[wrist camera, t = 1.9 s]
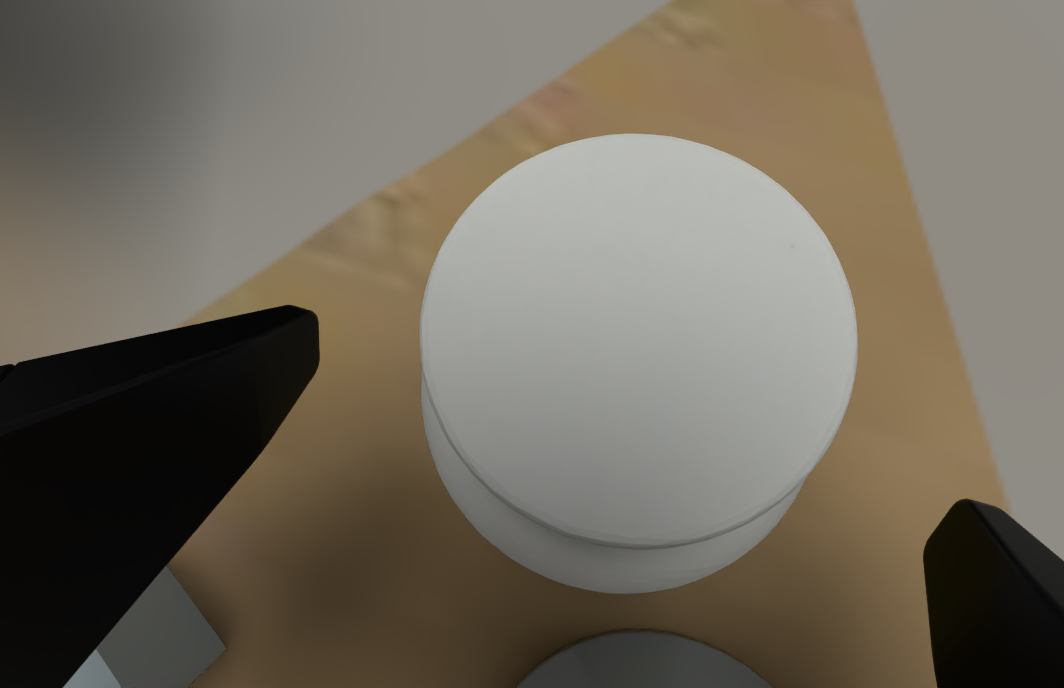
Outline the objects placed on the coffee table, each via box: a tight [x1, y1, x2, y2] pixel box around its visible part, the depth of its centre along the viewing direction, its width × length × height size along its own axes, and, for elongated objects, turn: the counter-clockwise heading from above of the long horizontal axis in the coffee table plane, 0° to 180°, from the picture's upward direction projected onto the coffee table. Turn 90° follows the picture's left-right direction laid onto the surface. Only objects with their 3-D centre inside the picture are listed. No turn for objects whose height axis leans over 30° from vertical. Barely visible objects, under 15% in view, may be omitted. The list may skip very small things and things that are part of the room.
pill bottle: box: [420, 134, 858, 594], centre depth 12 cm, size 6×6×11 cm
